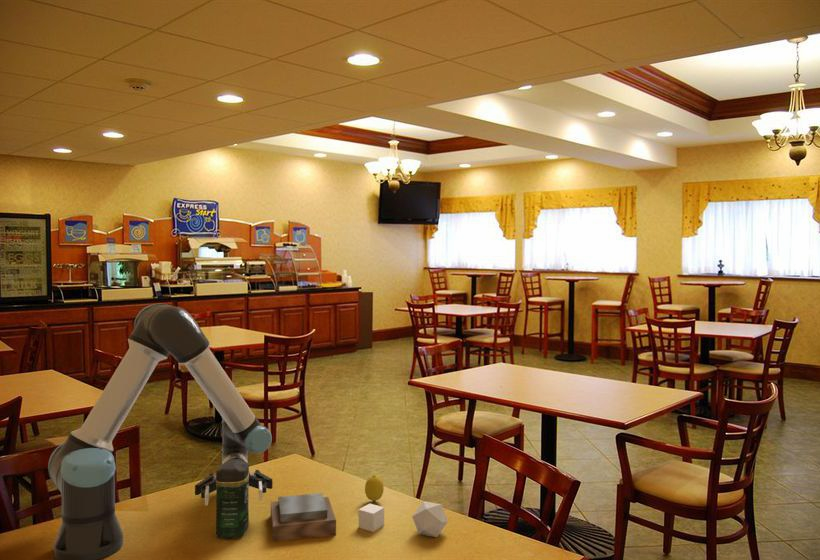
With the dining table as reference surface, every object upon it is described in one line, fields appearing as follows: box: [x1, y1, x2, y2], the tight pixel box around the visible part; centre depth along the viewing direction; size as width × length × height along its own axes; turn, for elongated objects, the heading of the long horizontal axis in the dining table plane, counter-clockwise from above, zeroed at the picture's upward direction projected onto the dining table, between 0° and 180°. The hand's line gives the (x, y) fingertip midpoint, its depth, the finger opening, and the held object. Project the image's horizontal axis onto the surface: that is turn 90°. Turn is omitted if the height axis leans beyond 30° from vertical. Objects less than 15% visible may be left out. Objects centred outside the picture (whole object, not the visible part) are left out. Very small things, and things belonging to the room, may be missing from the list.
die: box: [411, 500, 449, 538], centre depth 163 cm, size 8×9×10 cm
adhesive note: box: [358, 503, 385, 533], centre depth 167 cm, size 5×5×5 cm
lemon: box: [364, 474, 385, 503], centre depth 183 cm, size 6×6×8 cm
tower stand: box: [270, 492, 337, 543], centre depth 167 cm, size 16×16×6 cm
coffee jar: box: [215, 459, 250, 540], centre depth 162 cm, size 10×8×19 cm
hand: (233, 497), depth 160 cm, fingers open, 13 cm apart
